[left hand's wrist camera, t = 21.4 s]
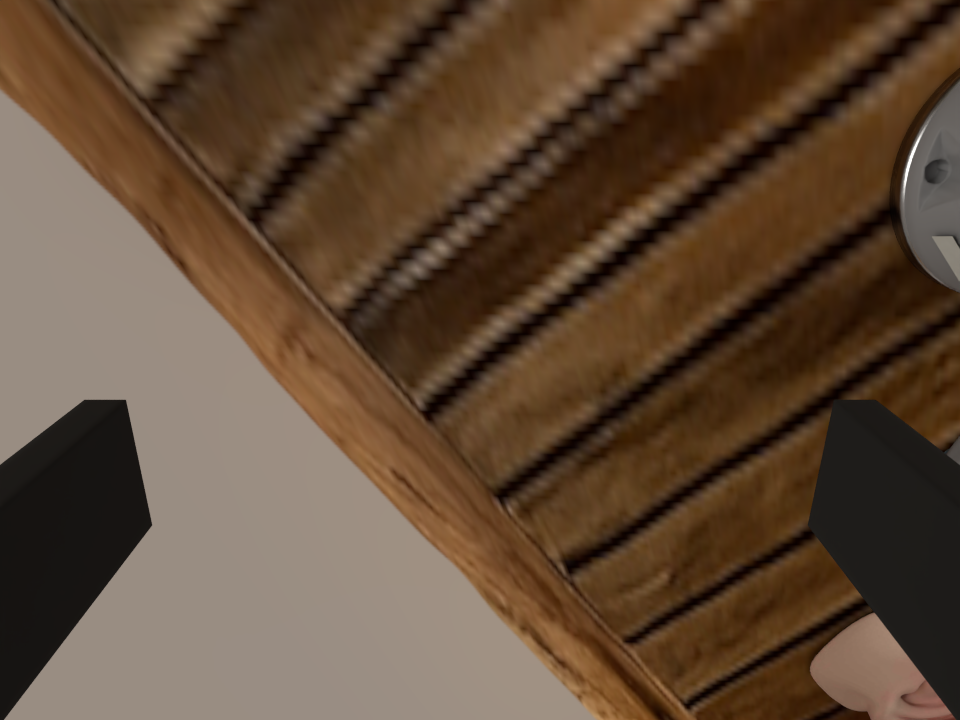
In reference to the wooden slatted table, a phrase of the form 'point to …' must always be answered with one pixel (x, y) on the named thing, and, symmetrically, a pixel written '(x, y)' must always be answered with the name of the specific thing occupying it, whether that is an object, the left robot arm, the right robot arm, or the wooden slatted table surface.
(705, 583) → the wooden slatted table surface
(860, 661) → the anatomical model
